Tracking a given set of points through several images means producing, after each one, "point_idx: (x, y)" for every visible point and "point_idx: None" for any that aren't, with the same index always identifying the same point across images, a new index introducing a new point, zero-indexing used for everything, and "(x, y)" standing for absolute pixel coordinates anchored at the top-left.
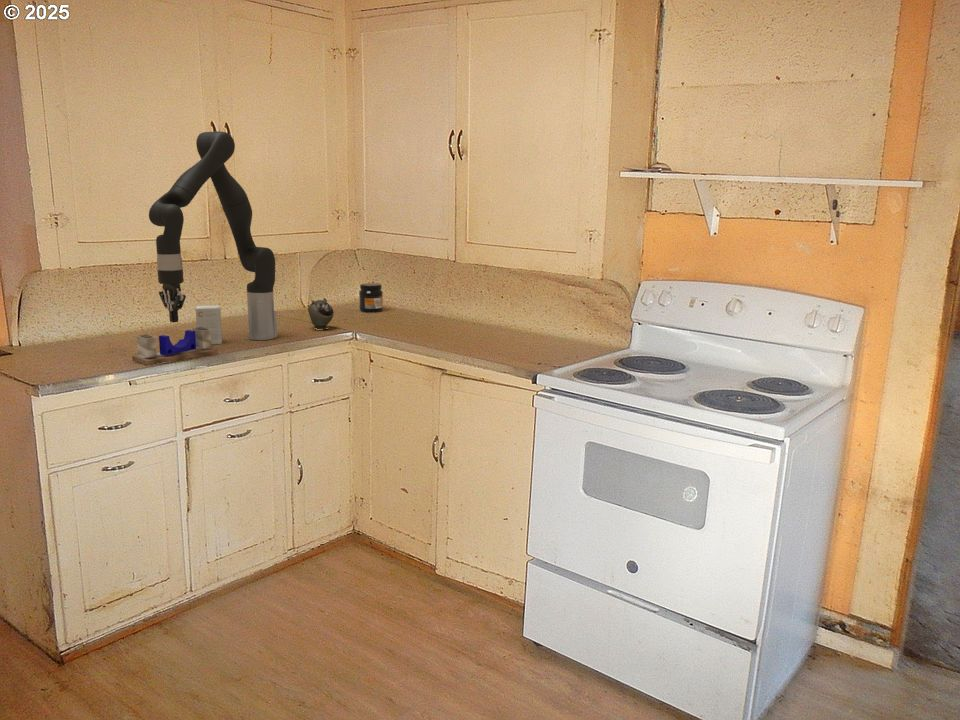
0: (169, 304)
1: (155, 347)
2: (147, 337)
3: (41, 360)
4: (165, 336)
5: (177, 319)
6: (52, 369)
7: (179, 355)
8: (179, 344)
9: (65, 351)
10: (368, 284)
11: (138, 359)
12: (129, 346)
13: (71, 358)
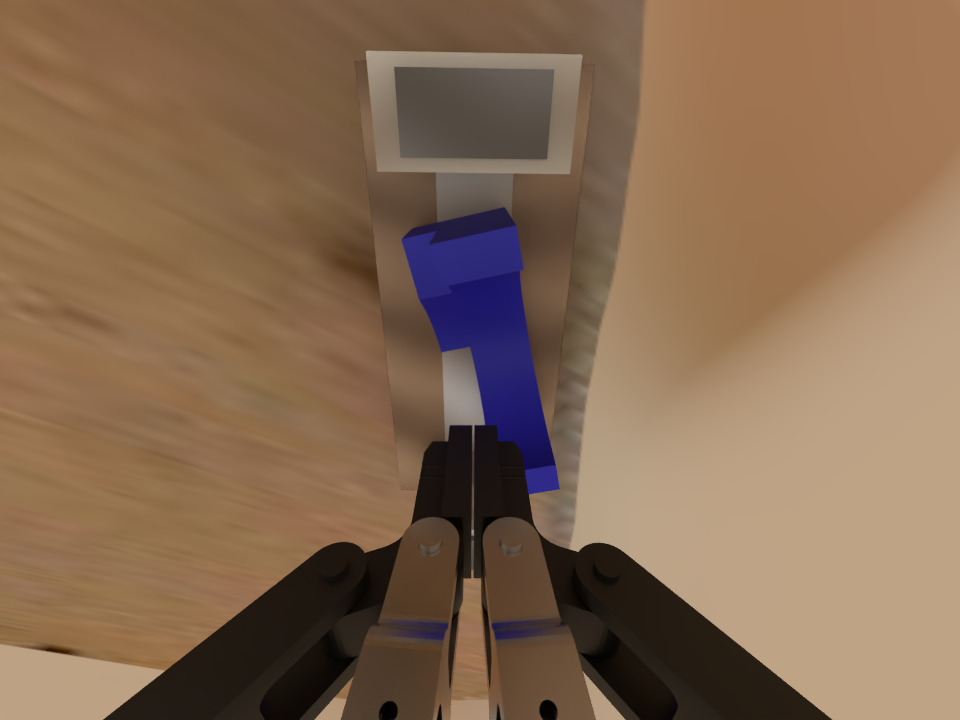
0: (451, 670)
1: None
2: None
3: (215, 631)
4: (550, 484)
5: (519, 455)
6: None
7: (550, 349)
8: (464, 316)
9: (75, 556)
10: None
11: None
12: (43, 356)
13: (228, 579)
